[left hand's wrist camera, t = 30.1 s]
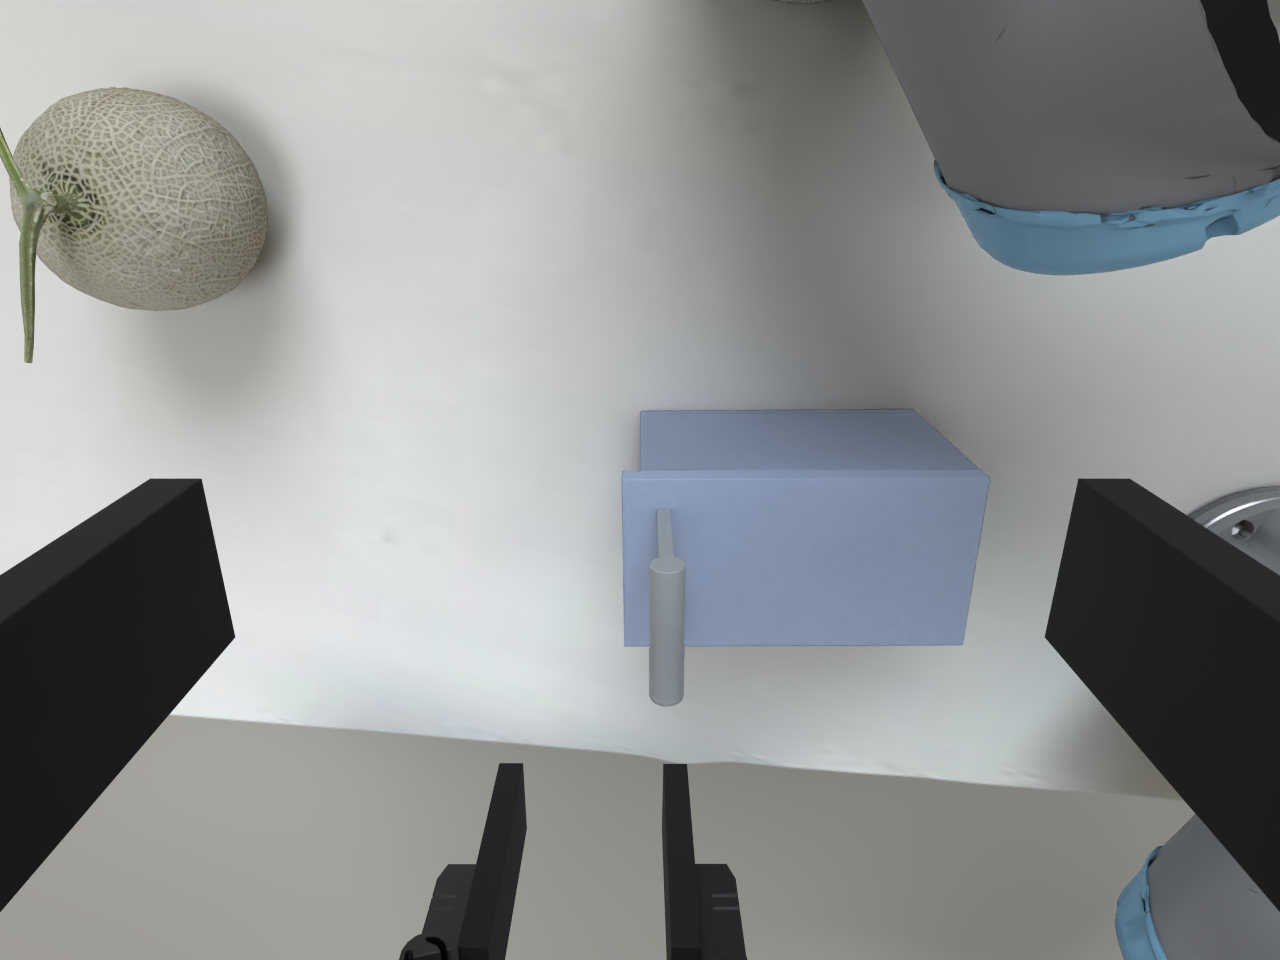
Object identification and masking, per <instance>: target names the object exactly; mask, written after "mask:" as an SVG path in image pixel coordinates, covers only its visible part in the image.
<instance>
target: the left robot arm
mask: <svg viewBox="0 0 1280 960" xmlns="http://www.w3.org/2000/svg"><path fill="white" fill-rule="evenodd" d="M778 1H783V2H792V3H813V2H822V1H828V0H778ZM862 2H863V4H864V6H865V8H866V11H867V13H868V15H869V17H870V19H871V21H872V24H873V26H874V28H875V30H876V32H877V34H878V36H879V39H880V41H881V43H882V45H883V47H884V49H885V52H886V54H887V56H888V58H889V60H890V62H891V64H892V67H893V69H894V71H895V73H896V75H897V77H898V80H899V82H900V84H901V86H902V88H903V90H904V92H905V95H906V97H907V99H908V101H909V103H910V105H911V108H912V110H913V112H914V114H915V116H916V118H917V120H918V123H919V125H920V127H921V129H922V131H923V133H924V136H925V138H926V140H927V142H928V144H929V146H930V148H931V151H932V153H933V155H934V157H935V161H934V169H935V173H936V177H937V179H938V181H939V184H940V185H941V187H942V188H943V189H945V190H946V192H947V194H948V195H949V196H950V197H951V198H952V199H954V200H955V202H956V204H957V206H958V208H959V209H960V211H961V213H962V215H963V217H964V219H965V221H966V223H967V225H968V227H969V229H970V230H971V232H972V234H973V236H974V238H975V239H976V241H977V243H978V244H979V245H980V246H981V248H983V249H984V250H985V251H987V252H988V253H989V254H990V255H991V256H992V257H993V258H994V259H996V260H998V261H1000V262H1001V263H1003V264H1004V265H1006V266H1009V267H1012V268H1015V269H1018V270H1022V271H1026V272H1031V273H1037V274H1046V275H1080V274H1092V273H1102V272H1111V271H1117V270H1122V269H1128V268H1135V267H1139V266H1144V265H1149V264H1153V263H1157V262H1161V261H1165V260H1168V259H1172V258H1175V257H1179V256H1182V255H1185V254H1188V253H1191V252H1194V251H1197V250H1200V249H1202V248H1203V246H1204V244H1205V242H1206V241H1207V240H1208V239H1210V238H1211V237H1216V236H1223V235H1239V234H1242V233H1244V232H1247V231H1249V230H1251V229H1253V228H1255V227H1258V226H1260V225H1262V224H1264V223H1266V222H1268V221H1270V220H1272V219H1274V218H1276V217H1277V216H1279V215H1280V0H862ZM234 638H235V634H234V629H233V624H232V620H231V615H230V610H229V606H228V601H227V596H226V592H225V587H224V582H223V577H222V573H221V568H220V563H219V559H218V554H217V549H216V545H215V540H214V535H213V530H212V526H211V521H210V516H209V512H208V507H207V502H206V498H205V493H204V488H203V484H202V479H149V480H148V481H146V482H145V483H143V484H141V485H140V486H138V487H137V488H135V489H134V490H132V491H131V492H129V493H127V494H126V495H124V496H123V497H121V498H120V499H118V500H117V501H115V502H113V503H112V504H110V505H109V506H107V507H106V508H104V509H103V510H101V511H99V512H98V513H96V514H95V515H93V516H92V517H90V518H89V519H87V520H85V521H84V522H82V523H81V524H79V525H78V526H76V527H75V528H73V529H71V530H70V531H68V532H67V533H65V534H64V535H62V536H61V537H59V538H58V539H56V540H54V541H53V542H51V543H50V544H48V545H47V546H45V547H44V548H42V549H40V550H39V551H37V552H36V553H34V554H33V555H31V556H30V557H28V558H26V559H25V560H23V561H22V562H20V563H19V564H17V565H16V566H14V567H12V568H11V569H9V570H8V571H6V572H5V573H3V574H2V575H0V912H1V911H2V909H3V908H4V907H5V906H6V905H7V904H8V902H9V901H10V900H11V899H12V898H13V897H14V895H15V894H16V893H17V892H18V891H19V890H20V888H21V887H22V886H23V885H24V884H25V883H26V881H27V880H28V879H29V878H30V877H31V876H32V874H33V873H34V872H35V871H36V870H37V868H38V867H39V866H40V865H41V864H42V863H43V861H44V860H45V859H46V858H47V857H48V856H49V854H50V853H51V852H52V851H53V850H54V849H55V847H56V846H57V845H58V844H59V843H60V842H61V840H62V839H63V838H64V837H65V836H66V834H67V833H68V832H69V831H70V830H71V829H72V828H73V826H74V825H75V824H76V823H77V822H78V821H79V819H80V818H81V817H82V816H83V815H84V814H85V812H86V811H87V810H88V809H89V808H90V806H91V805H92V804H93V803H94V802H95V801H96V799H97V798H98V797H99V796H100V795H101V794H102V792H103V791H104V790H105V789H106V788H107V787H108V785H109V784H110V783H111V782H112V781H113V780H114V778H115V777H116V776H117V775H118V774H119V773H120V771H121V770H122V769H123V768H124V767H125V766H126V764H127V763H128V762H129V761H130V760H131V759H132V757H133V756H134V755H135V754H136V753H137V752H138V750H139V749H140V748H141V747H142V746H143V744H144V743H145V742H146V741H147V740H148V739H149V737H150V736H151V735H152V734H153V733H154V732H155V730H156V729H157V728H158V727H159V726H160V725H161V723H162V722H163V721H164V720H165V719H166V718H167V716H168V715H169V714H170V713H171V712H172V711H173V709H174V708H175V707H176V706H177V705H178V704H179V702H180V701H181V700H182V699H183V698H184V697H185V695H186V694H187V693H188V692H189V691H190V690H191V688H192V687H193V686H194V685H195V684H196V682H197V681H198V680H199V679H200V678H201V677H202V675H203V674H204V673H205V672H206V671H207V670H208V668H209V667H210V666H211V665H212V664H213V663H214V661H215V660H216V659H217V658H218V657H219V656H220V654H221V653H222V652H223V651H224V650H225V649H226V647H227V646H228V645H229V644H230V643H231V642H232V640H233V639H234ZM1045 638H1046V639H1047V640H1048V642H1049V643H1050V644H1051V645H1052V646H1053V647H1054V649H1055V650H1056V651H1057V652H1058V653H1059V654H1060V656H1061V657H1062V658H1063V659H1064V660H1065V661H1066V663H1067V664H1068V665H1069V666H1070V667H1071V668H1072V670H1073V671H1074V672H1075V673H1076V674H1077V675H1078V677H1079V678H1080V679H1081V680H1082V681H1083V682H1084V684H1085V685H1086V686H1087V687H1088V688H1089V690H1090V691H1091V692H1092V693H1093V694H1094V695H1095V697H1096V698H1097V699H1098V700H1099V701H1100V702H1101V704H1102V705H1103V706H1104V707H1105V708H1106V709H1107V711H1108V712H1109V713H1110V714H1111V715H1112V716H1113V718H1114V719H1115V720H1116V721H1117V722H1118V723H1119V725H1120V726H1121V727H1122V728H1123V729H1124V730H1125V732H1126V733H1127V734H1128V735H1129V736H1130V737H1131V739H1132V740H1133V741H1134V742H1135V743H1136V744H1137V746H1138V747H1139V748H1140V749H1141V750H1142V752H1143V753H1144V754H1145V755H1146V756H1147V757H1148V759H1149V760H1150V761H1151V762H1152V763H1153V764H1154V766H1155V767H1156V768H1157V769H1158V770H1159V771H1160V773H1161V774H1162V775H1163V776H1164V777H1165V778H1166V780H1167V781H1168V782H1169V783H1170V784H1171V785H1172V787H1173V788H1174V789H1175V790H1176V791H1177V792H1178V794H1179V795H1180V796H1181V797H1182V798H1183V799H1184V801H1185V802H1186V803H1187V804H1188V805H1189V807H1190V808H1191V809H1192V810H1193V811H1194V812H1195V814H1196V815H1197V816H1198V817H1199V818H1200V819H1201V821H1202V822H1203V823H1204V824H1205V825H1206V826H1207V828H1208V829H1209V830H1210V831H1211V832H1212V833H1213V835H1214V836H1215V837H1216V838H1217V839H1218V840H1219V842H1220V843H1221V844H1222V845H1223V846H1224V847H1225V849H1226V850H1227V851H1228V852H1229V853H1230V854H1231V856H1232V857H1233V858H1234V859H1235V860H1236V861H1237V863H1238V864H1239V865H1240V866H1241V867H1242V869H1243V870H1244V871H1245V872H1246V873H1247V874H1248V876H1249V877H1250V878H1251V879H1252V880H1253V881H1254V883H1255V884H1256V885H1257V886H1258V887H1259V888H1260V890H1261V891H1262V892H1263V893H1264V894H1265V895H1266V897H1267V898H1268V899H1269V900H1270V901H1271V902H1272V904H1273V905H1274V906H1275V907H1276V908H1277V909H1278V911H1279V912H1280V575H1278V574H1277V573H1275V572H1274V571H1272V570H1271V569H1269V568H1268V567H1266V566H1264V565H1263V564H1261V563H1260V562H1258V561H1257V560H1255V559H1254V558H1252V557H1250V556H1249V555H1247V554H1246V553H1244V552H1243V551H1241V550H1240V549H1238V548H1236V547H1235V546H1233V545H1232V544H1230V543H1229V542H1227V541H1226V540H1224V539H1222V538H1221V537H1219V536H1218V535H1216V534H1215V533H1213V532H1212V531H1210V530H1209V529H1207V528H1205V527H1204V526H1202V525H1201V524H1199V523H1198V522H1196V521H1195V520H1193V519H1191V518H1190V517H1188V516H1187V515H1185V514H1184V513H1182V512H1181V511H1179V510H1177V509H1176V508H1174V507H1173V506H1171V505H1170V504H1168V503H1167V502H1165V501H1163V500H1162V499H1160V498H1159V497H1157V496H1156V495H1154V494H1153V493H1151V492H1149V491H1148V490H1146V489H1145V488H1143V487H1142V486H1140V485H1139V484H1137V483H1135V482H1134V481H1132V480H1131V479H1078V484H1077V488H1076V493H1075V498H1074V502H1073V507H1072V512H1071V516H1070V521H1069V526H1068V530H1067V535H1066V540H1065V545H1064V549H1063V554H1062V559H1061V563H1060V568H1059V573H1058V577H1057V582H1056V587H1055V592H1054V596H1053V601H1052V606H1051V610H1050V615H1049V620H1048V624H1047V629H1046V634H1045Z"/></svg>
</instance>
